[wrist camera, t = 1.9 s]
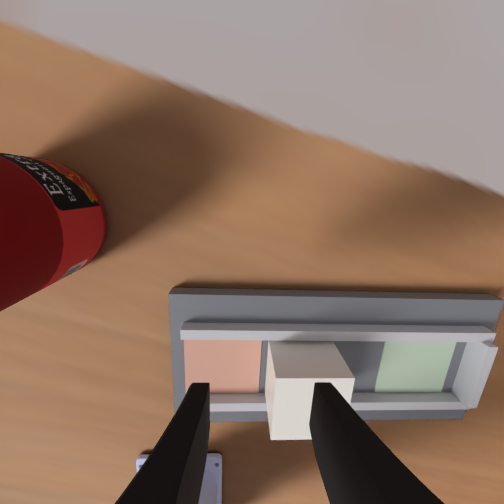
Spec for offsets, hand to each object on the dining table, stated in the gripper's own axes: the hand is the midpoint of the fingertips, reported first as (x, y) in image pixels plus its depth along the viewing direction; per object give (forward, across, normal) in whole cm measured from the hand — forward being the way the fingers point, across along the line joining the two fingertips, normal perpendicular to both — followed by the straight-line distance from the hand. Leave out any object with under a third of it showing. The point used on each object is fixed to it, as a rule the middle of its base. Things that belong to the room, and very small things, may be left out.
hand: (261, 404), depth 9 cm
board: (+10, -7, +6) cm, 14 cm away
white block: (+9, -4, +6) cm, 12 cm away
